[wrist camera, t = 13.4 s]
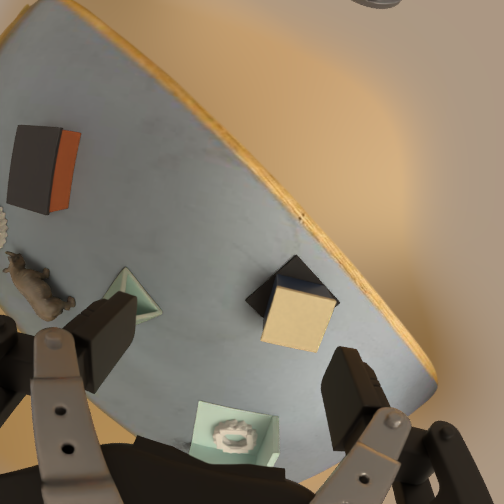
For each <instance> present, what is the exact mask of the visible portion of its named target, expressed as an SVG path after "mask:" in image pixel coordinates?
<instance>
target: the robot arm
mask: <svg viewBox="0 0 504 504" xmlns="http://www.w3.org/2000/svg"><path fill="white" fill-rule="evenodd" d="M136 313H137V297H136V296H134V295H131V294H128V293H125V292H122V291H118V292H116V293H115V294H114V295H113V296H112V297H111V298H109V299H108V300H107V299H105V298H104V299H101V300H98V301H95V302H93V303H92V304H91V305H89V306H88V307H87V308H86V309H85V310H83V311H82V312H81V314H79V315H77V316H76V317H75V318H74V319H73V320H71V321H70V322H69V323H68V324H67V325H66V326H64V327H63V328H57V327H49V328H45V329H42V330H40V331H39V332H37V333H36V335H35V336H32V335H27V334H23V333H19V332H17V327H16V323H15V321H14V320H13V319H12V318H11V317H9V316H6V315H0V428H1V426H2V425H3V424H4V422H5V421H6V420H7V418H8V417H9V416H10V414H11V413H12V412H13V411H14V409H15V408H16V407H17V405H18V404H19V403H20V402H21V401H22V399H23V398H24V397H25V396H26V395H30V396H31V407H32V420H33V430H34V438H35V446H36V451H37V459H38V464H39V465H36V466H32V467H28V468H25V469H21V470H17V471H13V472H9V473H5V474H0V504H382V503H383V501H384V499H385V497H386V495H387V493H388V491H389V489H390V487H391V485H392V487H393V491H394V495H395V500H396V503H397V504H494V503H493V501H492V498H491V496H490V494H489V491H488V490H487V487H486V485H485V483H484V480H483V478H482V476H481V474H480V472H479V470H478V468H477V466H476V464H475V462H474V460H473V458H472V456H471V454H470V452H469V450H468V448H467V446H466V444H465V442H464V440H463V438H462V436H461V434H460V433H459V431H458V430H457V428H455V427H454V426H453V425H452V424H450V423H448V422H445V421H436V422H434V423H433V424H432V425H431V427H430V428H429V429H428V430H423V429H419V428H415V427H412V426H411V422H410V419H409V418H408V417H407V416H406V415H405V414H404V413H403V412H402V411H400V410H398V409H395V408H392V407H390V405H389V402H388V400H387V398H386V396H385V394H384V392H383V389H382V387H380V386H381V385H380V383H379V381H378V380H377V377H376V375H375V373H374V370H373V369H372V368H371V367H370V366H369V365H368V364H367V363H365V362H363V361H362V359H361V357H360V355H359V353H358V351H357V349H353V348H347V347H341V346H339V347H337V348H336V350H335V352H334V354H333V356H332V359H331V361H330V363H329V365H328V367H327V370H326V372H325V374H324V376H323V379H322V383H321V393H322V397H323V402H324V407H325V412H326V417H327V421H328V426H329V431H330V436H331V441H332V446H333V451H345V453H346V456H345V457H344V458H343V460H342V461H341V462H340V463H339V465H338V466H337V467H336V469H335V470H334V471H333V473H332V474H331V475H330V476H329V478H328V479H327V480H326V481H325V483H324V484H323V485H322V486H321V487H320V488H319V490H318V491H317V492H316V493H315V494H314V493H313V492H312V491H310V490H309V489H307V488H305V487H304V486H302V485H300V484H298V483H296V482H293V481H291V480H288V479H285V468H276V467H268V466H261V465H254V464H209V463H206V462H204V461H202V460H199V459H197V458H195V457H193V456H191V455H189V454H187V453H185V452H183V451H181V450H179V449H177V448H175V447H173V446H169V445H166V444H163V443H159V442H156V441H153V440H150V439H147V438H144V437H141V436H138V435H137V437H136V440H135V442H134V444H127V443H110V444H102V445H100V444H99V441H98V438H97V435H96V431H95V428H94V424H93V421H92V417H91V413H90V410H89V406H88V402H87V398H86V393H85V390H86V391H89V392H91V393H93V394H95V393H96V391H97V390H98V389H99V387H100V386H101V384H102V383H103V382H104V380H105V379H106V377H107V376H108V375H109V373H110V372H111V370H112V369H113V368H114V366H115V365H116V364H117V362H118V361H119V359H120V358H121V357H122V355H123V354H124V353H125V351H126V350H127V349H128V347H129V346H130V344H131V343H132V341H133V338H134V334H135V325H136ZM434 472H435V474H436V477H437V479H438V482H439V492H438V495H437V496H436V497H435V496H434V493H433V491H432V487H431V484H430V481H429V477H430V476H431V475H432V474H433V473H434Z"/></svg>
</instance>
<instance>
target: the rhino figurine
mask: <svg viewBox="0 0 504 504" xmlns="http://www.w3.org/2000/svg"><path fill="white" fill-rule="evenodd" d="M5 253H6V254H8V255H10V256H11V257H10V256H8V259H9V261H10V264H9V267H8V268H5V269H4V270H3V272H4V273H7V272H10V274H11V278H12V281H13V283H14V285H15V286H16V287H17V289H18V290H19V291H20V293H22V294H23V295H24V297H25V298H26V299H27V301H28V302H29V303H30V305H31V306H32V307H33V309H34V311H35V312H36V314H37V315H38V316H39V317H40V318H41V319H43V320H45V321H52V320H54V319H55V318H56V317H57V316H58V315H60V314H62V312H63V309H65V310H70V307H75V300H74V298H72V297H71V296H69V297H68V300H67V302H65V301H62V300H61V299H60V298H57V297H52V293H51V289H50V287H49V285H48V284H47V283H46V282H45V281H43V279H45V278H49V270H48V269H46V268H44V269H43V273H40V272H38V271H35V270H32V269H26V268H25V265H26V264H25V261H24V259H23V257H22V255H21V254H20V253H19V254H15V253H12V252H8V251H7V252H5Z"/></svg>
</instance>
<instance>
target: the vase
mask: <svg viewBox="0 0 504 504" xmlns="http://www.w3.org/2000/svg"><path fill="white" fill-rule="evenodd" d="M6 223H7V220H6V219H5V213H3V207H0V248H2V247H3V244H4V243H6V240H5V237H7V236H8V235H7V233H6V230H7V229H8V227H7V226H6Z"/></svg>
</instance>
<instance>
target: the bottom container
mask: <svg viewBox="0 0 504 504" xmlns="http://www.w3.org/2000/svg"><path fill="white" fill-rule="evenodd" d="M80 136H81V133H78V132H72V131H66V130H63V128H59V127H46V126H30V125H18V127H17V132H16V136H15V142H14V147H13V153H12V159H11V166H10V173H9V181H8V190H7V202H6V203H7V204H11V205H14V206H17V207H21V208H24V209H27V210H30V211H34V212H37V213H40V214H44V215H49V212H53V211H58V210H62V209H67V208H68V205H69V197H70V190H71V184H72V177H73V171H74V166H75V160H76V155H77V150H78V146H79V141H80Z"/></svg>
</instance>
